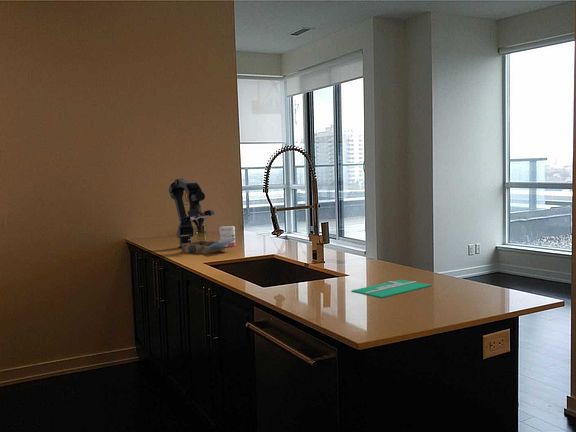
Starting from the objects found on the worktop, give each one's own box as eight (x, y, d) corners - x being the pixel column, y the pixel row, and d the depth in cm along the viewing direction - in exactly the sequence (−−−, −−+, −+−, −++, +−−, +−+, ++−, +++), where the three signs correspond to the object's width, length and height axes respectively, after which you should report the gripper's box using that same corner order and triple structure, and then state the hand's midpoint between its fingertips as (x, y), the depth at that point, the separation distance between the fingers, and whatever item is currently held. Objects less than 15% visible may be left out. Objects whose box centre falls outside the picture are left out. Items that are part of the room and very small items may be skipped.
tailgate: (205, 247, 323) (217, 240, 317) (222, 244, 334) (234, 237, 328) (206, 250, 322) (218, 243, 317) (223, 246, 334) (235, 239, 328)
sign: (400, 278, 231) (431, 284, 219) (400, 281, 231) (431, 287, 219) (351, 289, 215) (382, 295, 203) (351, 292, 215) (382, 299, 203)
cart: (179, 252, 331) (179, 244, 331) (202, 247, 346) (202, 240, 346) (203, 254, 321) (202, 246, 320) (226, 249, 336) (225, 241, 335)
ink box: (235, 245, 351) (235, 225, 350) (234, 246, 346) (233, 226, 345) (221, 245, 352) (220, 226, 351) (219, 247, 347) (218, 227, 346)
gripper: (173, 207, 329) (180, 235, 328) (204, 199, 325) (211, 227, 324) (181, 208, 340) (187, 234, 339) (211, 200, 336) (217, 227, 335)
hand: (200, 231), depth 334 cm, fingers closed
